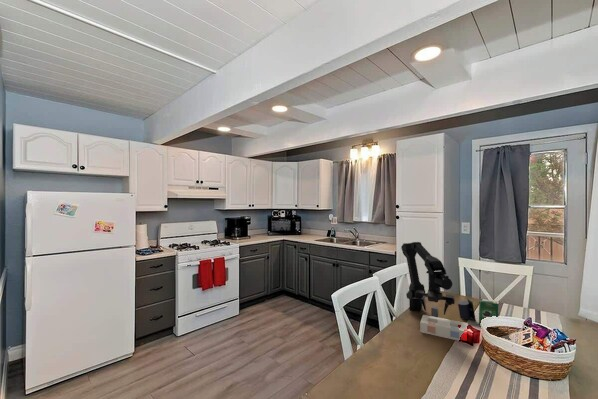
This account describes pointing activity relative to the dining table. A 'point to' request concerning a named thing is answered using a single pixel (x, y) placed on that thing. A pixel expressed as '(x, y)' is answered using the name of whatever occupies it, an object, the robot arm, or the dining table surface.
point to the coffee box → (487, 309)
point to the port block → (442, 327)
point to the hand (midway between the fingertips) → (434, 312)
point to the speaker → (466, 310)
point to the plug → (434, 311)
